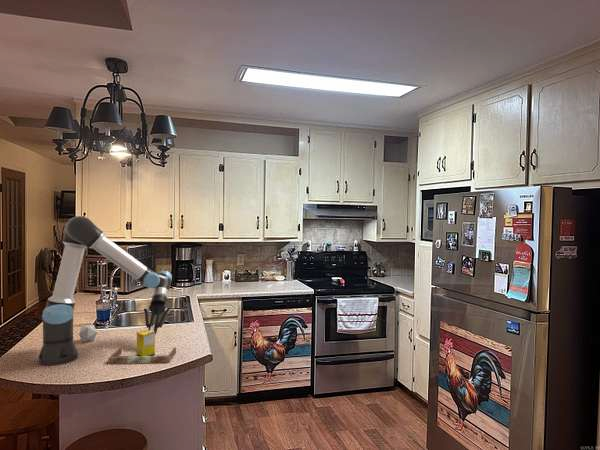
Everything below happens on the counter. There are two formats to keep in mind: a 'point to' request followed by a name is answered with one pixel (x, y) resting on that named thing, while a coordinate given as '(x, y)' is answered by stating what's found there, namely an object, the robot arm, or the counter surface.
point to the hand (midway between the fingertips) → (150, 339)
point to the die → (88, 333)
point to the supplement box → (146, 343)
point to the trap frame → (140, 358)
